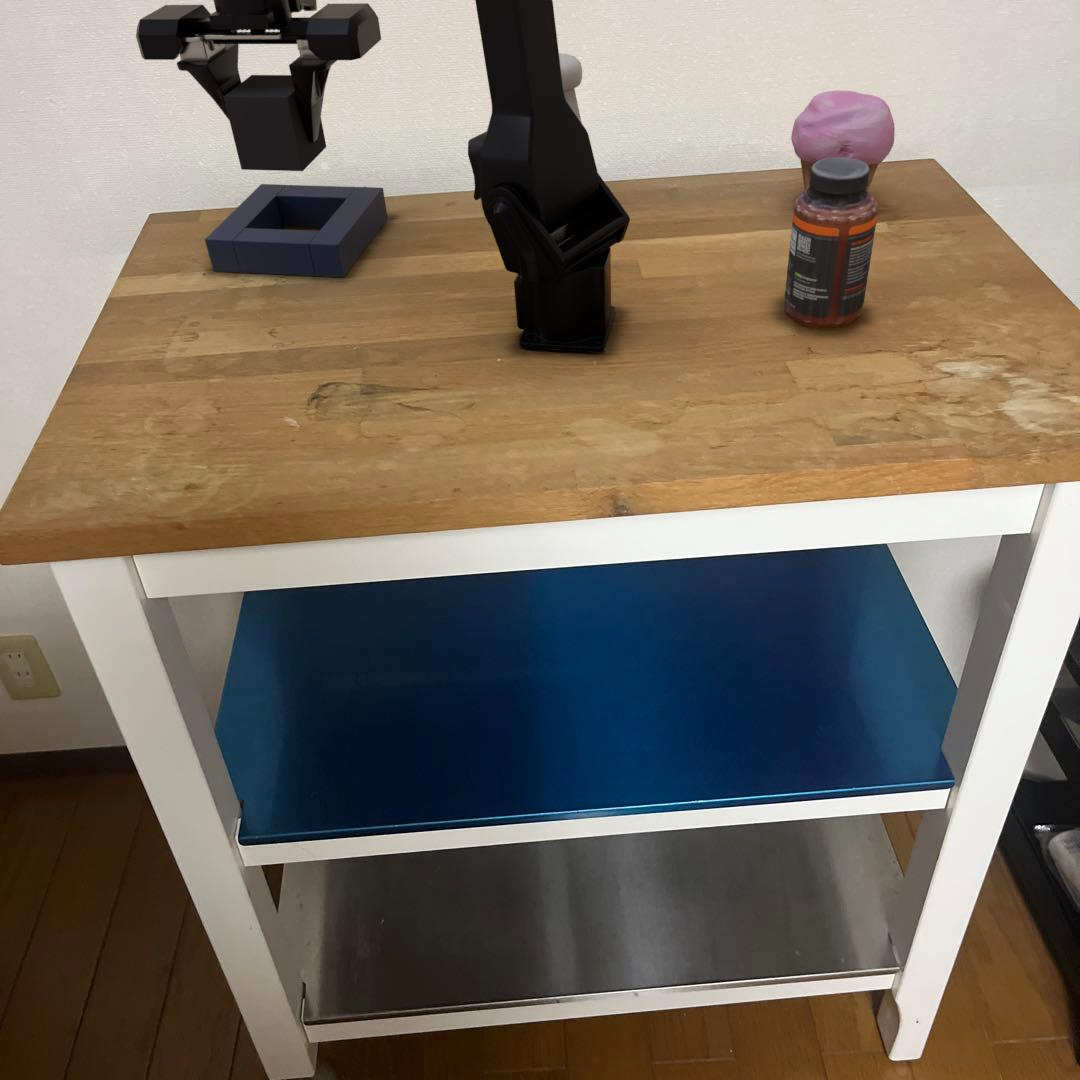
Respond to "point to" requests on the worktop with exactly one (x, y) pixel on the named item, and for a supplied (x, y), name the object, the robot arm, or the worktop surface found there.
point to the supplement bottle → (831, 244)
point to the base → (267, 249)
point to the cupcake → (843, 130)
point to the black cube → (270, 125)
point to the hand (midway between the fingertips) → (281, 140)
